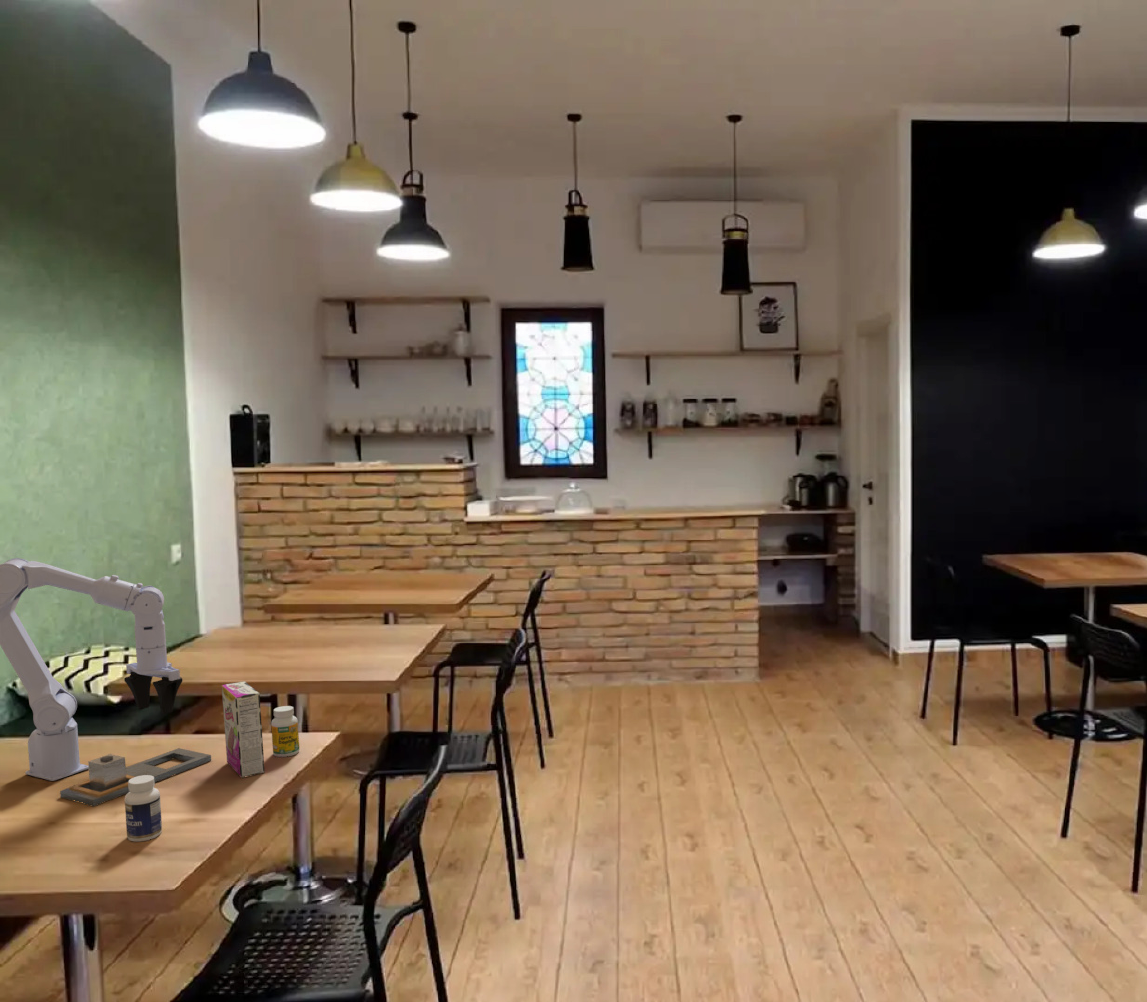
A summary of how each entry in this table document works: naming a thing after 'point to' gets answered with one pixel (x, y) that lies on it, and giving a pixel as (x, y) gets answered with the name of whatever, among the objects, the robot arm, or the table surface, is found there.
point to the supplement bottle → (285, 732)
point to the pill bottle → (143, 809)
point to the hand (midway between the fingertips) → (155, 710)
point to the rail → (146, 767)
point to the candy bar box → (243, 728)
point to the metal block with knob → (107, 772)
